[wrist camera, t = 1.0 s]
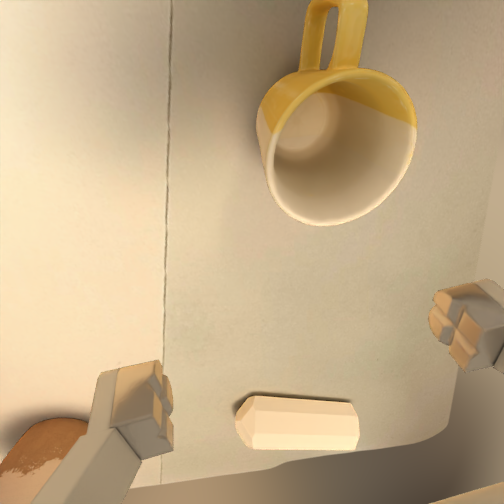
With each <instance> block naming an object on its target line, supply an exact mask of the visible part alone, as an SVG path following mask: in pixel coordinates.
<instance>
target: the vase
mask: <svg viewBox="0 0 504 504" xmlns="http://www.w3.org/2000/svg"><path fill="white" fill-rule="evenodd" d="M87 428H88V423H87V422H85V421H82V420H78V419H72V418H55V419H49V420H45V421H42V422H39V423H37V424H35V425H33V426H32V427H31V428H30V429H29V430H28V431H27V432H26V433H25V434H24V435H23V436H22V437H21V438H20V439H19V441H18V442H17V443H16V444H15V446H14V447H13V448H12V450H11V451H10V452H9V453H8V455H7V456H6V457H5V459H4V460H3V461H2V463H1V464H0V504H30V503H31V501H32V500H33V499H34V497H35V496H36V495H37V493H38V492H39V491H40V489H41V488H42V487H43V485H44V484H45V483H46V481H47V480H48V479H49V477H50V476H51V475H52V473H53V472H54V471H55V469H56V468H57V467H58V465H59V464H60V463H61V461H62V460H63V459H64V457H65V456H66V455H67V453H68V452H69V451H70V449H71V448H72V447H73V445H74V444H75V443H76V441H77V440H78V439H79V437H80V436H83V435H86V433H87Z"/></svg>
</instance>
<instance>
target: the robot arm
mask: <svg viewBox="0 0 504 504" xmlns="http://www.w3.org/2000/svg"><path fill="white" fill-rule="evenodd" d="M433 301H434V302H435V304H436V305H435V306H434V307H433V308H432V309H431V310H430V311H429V316H428V321H429V326H430V329H431V331H432V332H433V334H434V336H435V337H436V338H437V339H438V341H440V342H442V343H444V344H446V345H448V346H449V354H450V355H451V357H452V358H453V359H454V360H455V361H456V363H457V364H458V365H459V366H460V367H461V369H462V370H463V371H464V372H465V373H466V372H470V371H474V370H479V369H483V368H487V367H491V366H494V367H493V368H494V369H496V370H498V371H500V372H501V373H503V374H504V289H503V288H501V287H500V286H499V285H498V284H497V283H495V282H494V281H492V280H490V279H484V280H479V281H475V282H471V283H465V284H462V285H458V286H454V287H450V288H446V289H442V290H438V291H437V292H436V293H435V294H434V297H433ZM172 411H173V395H172V388H171V385H170V381H169V379H168V377H167V376H166V375H163V374H162V365H161V363H160V361H159V360H155V361H150V362H145V363H141V364H136V365H132V366H127V367H122V368H118V369H114V370H109V371H105V372H101V374H100V375H99V377H98V379H97V384H96V389H95V394H94V399H93V404H92V409H91V414H90V418H89V423H88V428H87V433H86V435H83V436H80V437H79V439H78V440H77V441H76V443H75V444H74V445H73V447H72V448H71V449H70V451H69V452H68V453H67V455H66V456H65V457H64V459H63V460H62V461H61V463H60V464H59V465H58V467H57V468H56V469H55V471H54V472H53V473H52V475H51V476H50V477H49V479H48V480H47V481H46V483H45V484H44V485H43V487H42V488H41V489H40V491H39V492H38V493H37V495H36V496H35V497H34V499H33V500H32V501H31V503H30V504H122V502H123V500H124V498H125V496H126V494H127V492H128V490H129V488H130V486H131V484H132V482H133V480H134V478H135V476H136V473H137V471H138V469H139V467H140V465H141V463H142V461H141V460H144V459H148V458H151V457H154V456H158V455H161V454H164V453H168V452H171V451H173V424H172V422H171V420H170V418H169V416H170V414H171V413H172ZM431 504H504V482H500V483H497V484H494V485H490V486H487V487H484V488H480V489H477V490H474V491H470V492H467V493H464V494H460V495H457V496H454V497H450V498H447V499H444V500H440V501H437V502H434V503H431Z"/></svg>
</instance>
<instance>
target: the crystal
mask: <svg viewBox="0 0 504 504" xmlns="http://www.w3.org/2000/svg"><path fill="white" fill-rule="evenodd" d="M235 429H236V431H237V432H238V434H239V435H240V437H241V439H242V440H243V442H244V444H245V445H246V447H249V448H251V449H275V450H355V447H356V445H357V442H358V439H359V437H360V433H359V421H358V416H357V414H356V412H355V410H354V408H353V407H352V405H351V403H345V402H332V401H319V400H306V399H293V398H280V397H267V396H252V397H248V399H247V400H246V401H245V402H244V404H243V405H242V406H241V407H240V409H239V410H238V411H237V413H236V419H235Z"/></svg>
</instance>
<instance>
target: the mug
mask: <svg viewBox="0 0 504 504" xmlns="http://www.w3.org/2000/svg"><path fill="white" fill-rule="evenodd" d="M332 7H338V8H339V14H338V25H337V31H336V40H335V46H334V51H333V55H332V58H331V61H330V63H329V66H328V68H327V69H326V70H320V58H321V49H322V43H323V36H324V30H325V24H326V19H327V15H328V12H329V10H330V8H332ZM367 17H368V2H367V0H312V1H311V2H310V4H309V6H308V9H307V12H306V17H305V23H304V31H303V39H302V47H301V55H300V63H299V69H298V71H297V72H293V73H291V74H289V75H287V76H285V77H283V78H282V79H280V80H279V81H278V82H276V83H275V84H274V85H273V86H272V87H271V88H270V89H269V91H268V92H267V93H266V95H265V96H264V98H263V100H262V102H261V104H260V106H259V110H258V113H257V119H256V131H257V136H258V141H259V146H260V151H261V157H262V162H263V168H264V172H265V176H266V181H267V185H268V188H269V190H270V193H271V195H272V197H273V199H274V200H275V202H276V203H277V205H278V206H279V207H280V208H281V209H282V210H283V211H284V212H285V213H286V214H287V215H289V216H290V217H291V218H293V219H295V220H297V221H299V222H302V223H305V224H308V225H314V226H333V225H338V224H342V223H346V222H349V221H352V220H354V219H357V218H359V217H361V216H363V215H365V214H366V213H368V212H370V211H371V210H373V209H374V208H375V207H377V206H378V205H379V204H380V203H381V202H383V201H384V200H385V199H386V198H387V197H388V196H389V195H390V193H391V192H392V191H393V190H394V189H395V188H396V186H397V185H398V183H399V182H400V181H401V179H402V177H403V176H404V174H405V172H406V171H407V168H408V166H409V164H410V161H411V159H412V156H413V153H414V150H415V145H416V138H417V118H416V113H415V109H414V106H413V103H412V101H411V99H410V97H409V95H408V93H407V92H406V90H405V89H404V88H403V87H402V86H401V85H400V84H399V83H398V82H397V81H396V80H395V79H393V78H392V77H390V76H388V75H386V74H384V73H382V72H379V71H376V70H371V69H365V68H358V65H359V60H360V54H361V49H362V43H363V38H364V33H365V28H366V22H367Z"/></svg>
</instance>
